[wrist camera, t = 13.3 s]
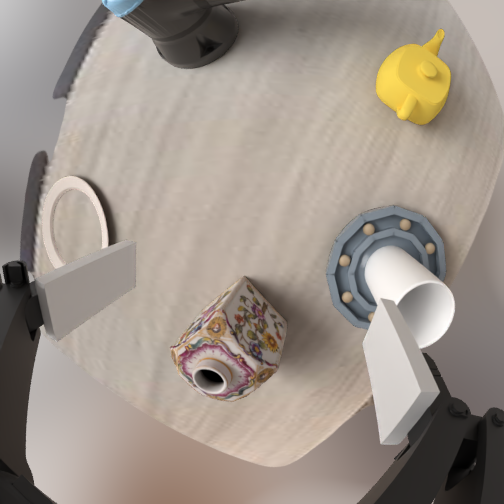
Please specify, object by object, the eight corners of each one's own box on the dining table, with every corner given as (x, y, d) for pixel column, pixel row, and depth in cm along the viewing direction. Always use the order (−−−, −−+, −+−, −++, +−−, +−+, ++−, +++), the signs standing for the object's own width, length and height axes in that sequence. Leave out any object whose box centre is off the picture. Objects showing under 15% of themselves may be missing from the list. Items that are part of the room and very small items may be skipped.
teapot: (394, 37, 29) (411, 6, 19) (447, 73, 29) (475, 51, 18) (356, 111, 35) (370, 88, 25) (415, 149, 34) (444, 141, 24)
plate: (78, 300, 57) (73, 303, 55) (37, 217, 55) (32, 219, 53) (133, 250, 49) (127, 253, 48) (82, 152, 47) (76, 151, 45)
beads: (353, 202, 38) (355, 202, 36) (448, 233, 35) (453, 235, 33) (322, 307, 42) (322, 312, 41) (412, 328, 40) (415, 333, 38)
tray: (346, 191, 39) (348, 191, 36) (452, 227, 35) (459, 229, 33) (312, 309, 44) (312, 316, 42) (413, 332, 41) (417, 339, 39)
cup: (413, 244, 37) (461, 278, 22) (409, 293, 39) (446, 345, 24) (365, 246, 39) (394, 282, 24) (363, 296, 41) (384, 352, 25)
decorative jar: (242, 354, 49) (212, 421, 32) (200, 311, 49) (151, 366, 32) (291, 322, 46) (277, 392, 29) (245, 272, 45) (206, 324, 28)
